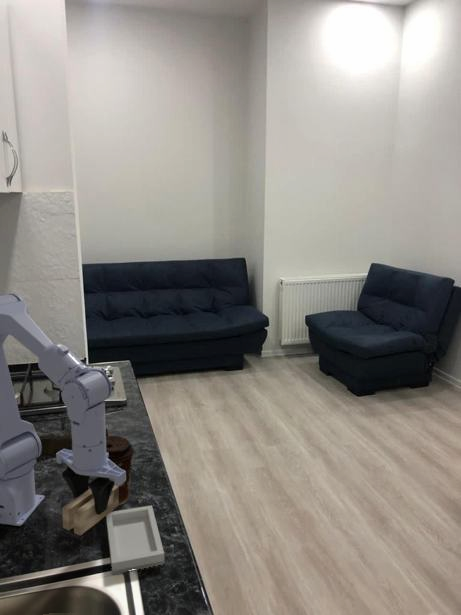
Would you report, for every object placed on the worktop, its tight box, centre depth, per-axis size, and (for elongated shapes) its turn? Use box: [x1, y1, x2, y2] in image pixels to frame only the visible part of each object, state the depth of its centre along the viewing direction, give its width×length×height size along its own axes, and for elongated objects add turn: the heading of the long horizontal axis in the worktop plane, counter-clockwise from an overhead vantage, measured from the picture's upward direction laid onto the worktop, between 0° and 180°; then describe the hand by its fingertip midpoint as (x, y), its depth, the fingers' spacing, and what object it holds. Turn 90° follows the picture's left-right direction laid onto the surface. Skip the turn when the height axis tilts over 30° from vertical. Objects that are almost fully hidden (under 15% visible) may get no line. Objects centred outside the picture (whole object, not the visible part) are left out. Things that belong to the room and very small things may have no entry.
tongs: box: [61, 485, 120, 536], centre depth 91 cm, size 10×4×4 cm, turn 152°
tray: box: [105, 505, 165, 576], centre depth 94 cm, size 14×9×2 cm, turn 17°
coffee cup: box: [94, 435, 134, 506], centre depth 106 cm, size 9×8×13 cm
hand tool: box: [38, 427, 109, 456], centre depth 127 cm, size 19×4×5 cm, turn 110°
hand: (91, 507), depth 91 cm, fingers closed on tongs, 4 cm apart
